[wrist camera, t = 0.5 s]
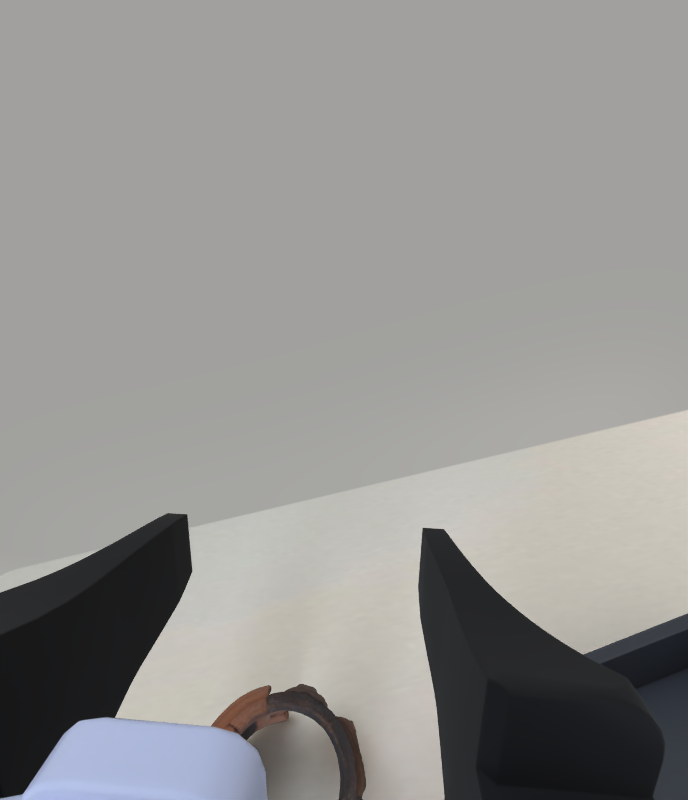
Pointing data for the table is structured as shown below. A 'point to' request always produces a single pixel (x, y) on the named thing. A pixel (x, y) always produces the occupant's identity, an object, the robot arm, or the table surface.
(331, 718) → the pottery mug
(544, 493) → the table surface
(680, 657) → the tray
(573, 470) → the table surface
